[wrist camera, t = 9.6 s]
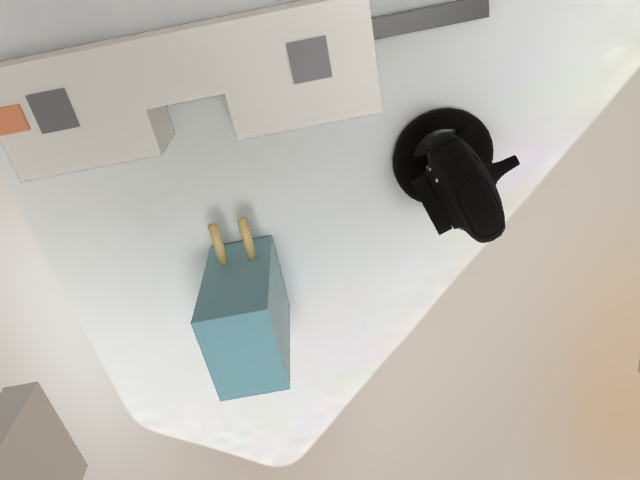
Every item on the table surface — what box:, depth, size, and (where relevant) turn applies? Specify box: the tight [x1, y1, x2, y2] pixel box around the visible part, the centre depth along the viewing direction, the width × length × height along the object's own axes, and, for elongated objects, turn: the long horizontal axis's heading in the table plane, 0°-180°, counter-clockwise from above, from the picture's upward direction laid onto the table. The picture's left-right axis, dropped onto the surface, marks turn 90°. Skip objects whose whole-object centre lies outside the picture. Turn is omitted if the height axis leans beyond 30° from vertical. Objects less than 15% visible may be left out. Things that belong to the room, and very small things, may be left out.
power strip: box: [0, 0, 489, 183], centre depth 34 cm, size 7×32×5 cm, turn 100°
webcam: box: [393, 108, 520, 243], centre depth 35 cm, size 8×8×10 cm
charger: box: [191, 218, 290, 401], centre depth 39 cm, size 10×5×10 cm, turn 10°
